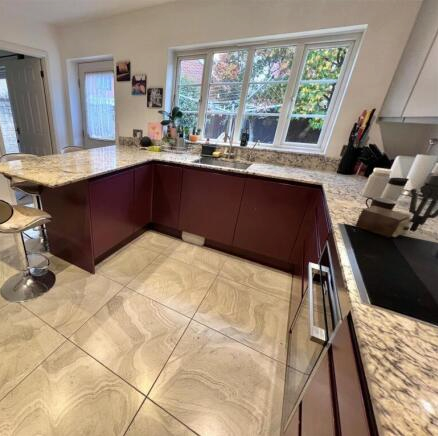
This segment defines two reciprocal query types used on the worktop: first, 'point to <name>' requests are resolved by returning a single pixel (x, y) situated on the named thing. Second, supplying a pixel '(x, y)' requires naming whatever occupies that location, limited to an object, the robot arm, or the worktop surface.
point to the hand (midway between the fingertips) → (412, 230)
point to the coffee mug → (382, 203)
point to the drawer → (402, 227)
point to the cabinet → (380, 220)
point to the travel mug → (394, 188)
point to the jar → (376, 183)
